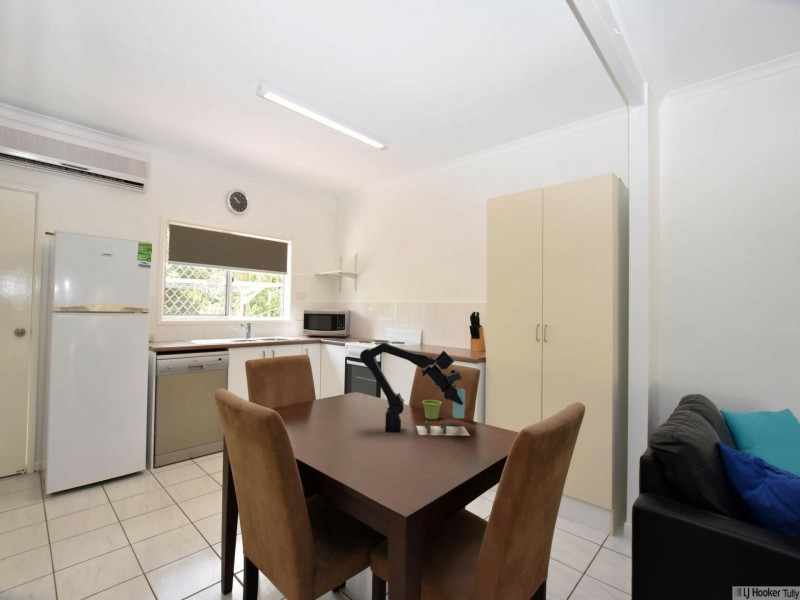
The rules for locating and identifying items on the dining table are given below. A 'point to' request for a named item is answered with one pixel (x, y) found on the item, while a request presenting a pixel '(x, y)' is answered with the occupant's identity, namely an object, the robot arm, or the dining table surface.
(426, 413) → the plant pot
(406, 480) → the dining table surface
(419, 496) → the dining table surface
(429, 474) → the dining table surface
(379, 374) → the robot arm
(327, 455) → the dining table surface
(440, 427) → the peg board
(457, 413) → the teal post
